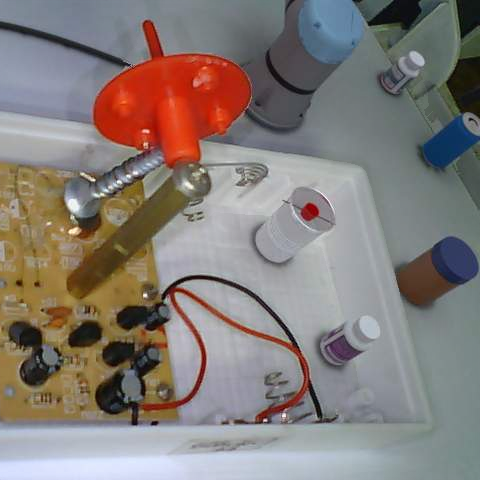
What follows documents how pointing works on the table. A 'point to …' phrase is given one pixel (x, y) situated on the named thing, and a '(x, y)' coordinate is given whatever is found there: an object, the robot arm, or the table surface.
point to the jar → (423, 281)
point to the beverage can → (452, 140)
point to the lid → (455, 260)
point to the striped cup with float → (295, 224)
